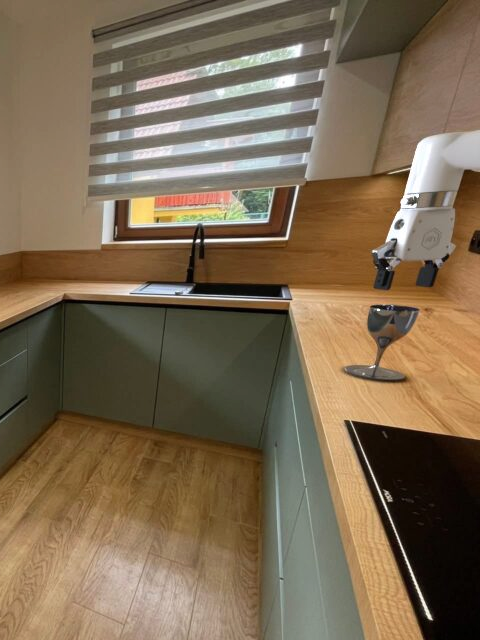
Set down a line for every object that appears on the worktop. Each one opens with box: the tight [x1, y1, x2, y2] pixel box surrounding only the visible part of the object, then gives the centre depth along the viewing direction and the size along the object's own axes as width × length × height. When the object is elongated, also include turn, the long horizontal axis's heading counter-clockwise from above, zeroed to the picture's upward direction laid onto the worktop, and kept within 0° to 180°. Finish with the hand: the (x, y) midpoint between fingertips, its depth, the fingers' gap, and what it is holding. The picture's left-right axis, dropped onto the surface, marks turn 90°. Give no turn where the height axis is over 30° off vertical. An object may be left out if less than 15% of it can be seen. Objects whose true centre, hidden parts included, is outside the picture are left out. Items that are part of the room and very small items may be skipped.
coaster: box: [343, 364, 405, 383], centre depth 100 cm, size 10×10×1 cm
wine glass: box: [354, 304, 421, 377], centre depth 97 cm, size 8×8×15 cm
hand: (402, 287), depth 92 cm, fingers open, 9 cm apart
